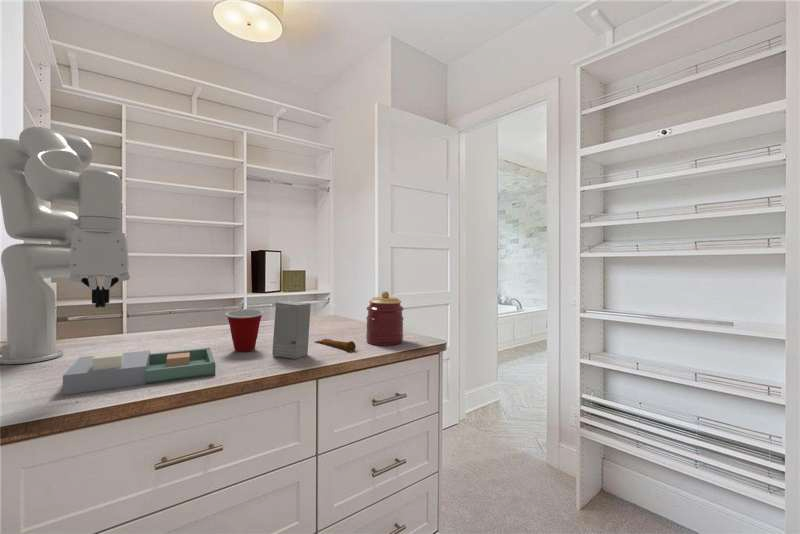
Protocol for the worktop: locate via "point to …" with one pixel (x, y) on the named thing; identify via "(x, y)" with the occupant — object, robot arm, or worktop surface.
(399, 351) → the worktop surface
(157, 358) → the tray
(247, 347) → the plastic cup
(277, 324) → the skincare box
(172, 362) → the tile terracotta
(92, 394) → the worktop surface
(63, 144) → the robot arm
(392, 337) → the canister
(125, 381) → the grey board
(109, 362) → the tile cream
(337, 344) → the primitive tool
